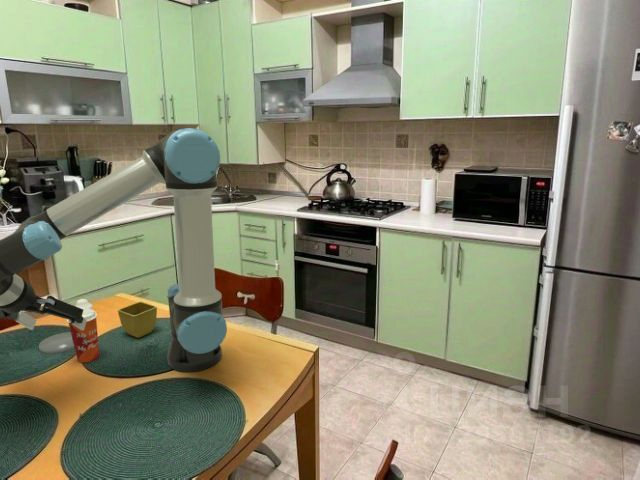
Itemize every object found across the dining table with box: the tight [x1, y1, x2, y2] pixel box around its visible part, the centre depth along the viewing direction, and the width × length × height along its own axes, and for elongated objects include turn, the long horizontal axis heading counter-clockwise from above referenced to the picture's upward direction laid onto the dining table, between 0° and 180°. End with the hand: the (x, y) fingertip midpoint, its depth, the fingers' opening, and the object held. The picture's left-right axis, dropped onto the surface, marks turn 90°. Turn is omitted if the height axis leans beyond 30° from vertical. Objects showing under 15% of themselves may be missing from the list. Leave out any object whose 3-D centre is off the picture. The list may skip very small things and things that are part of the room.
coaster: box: [38, 331, 75, 355], centre depth 138 cm, size 12×12×1 cm
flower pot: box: [117, 301, 158, 339], centre depth 143 cm, size 9×9×9 cm
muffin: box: [74, 298, 94, 310], centre depth 157 cm, size 6×6×7 cm
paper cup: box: [66, 308, 100, 363], centre depth 128 cm, size 8×8×14 cm
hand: (58, 325), depth 117 cm, fingers open, 13 cm apart
